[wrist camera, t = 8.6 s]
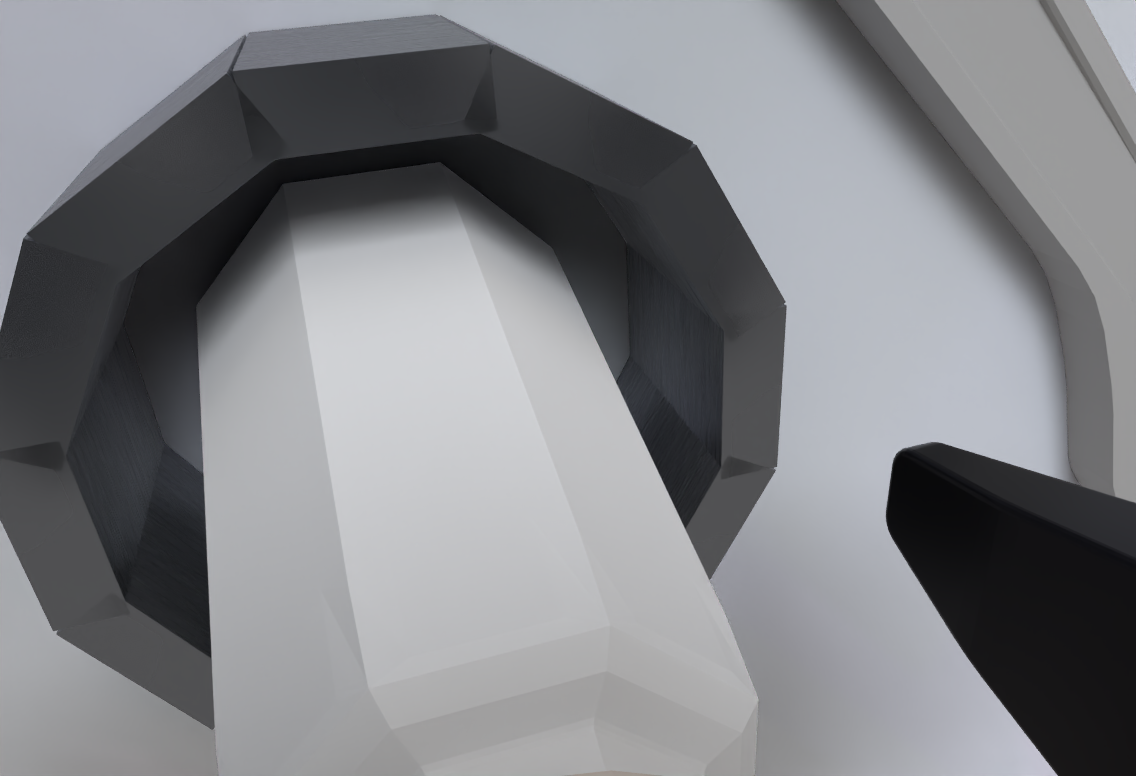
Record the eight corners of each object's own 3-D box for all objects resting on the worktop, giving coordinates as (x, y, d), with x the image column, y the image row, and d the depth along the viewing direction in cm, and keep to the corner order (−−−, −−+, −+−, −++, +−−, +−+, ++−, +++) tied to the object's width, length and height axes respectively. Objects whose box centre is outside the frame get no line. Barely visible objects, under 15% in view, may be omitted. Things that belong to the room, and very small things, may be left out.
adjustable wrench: (172, -793, 8) (142, -967, 6) (678, -1480, 7) (783, -1867, 6) (1106, 532, 20) (1172, 579, 19) (1331, 341, 20) (1419, 375, 18)
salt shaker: (106, 285, 11) (-740, 1885, 2) (458, 76, 11) (1214, 713, 2) (339, 546, 14) (433, 1718, 5) (622, 378, 14) (1252, 1224, 5)
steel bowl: (173, 631, 14) (142, 818, 11) (-45, 61, 10) (-192, 116, 7) (677, 513, 16) (766, 647, 13) (673, -9, 12) (804, 10, 9)
